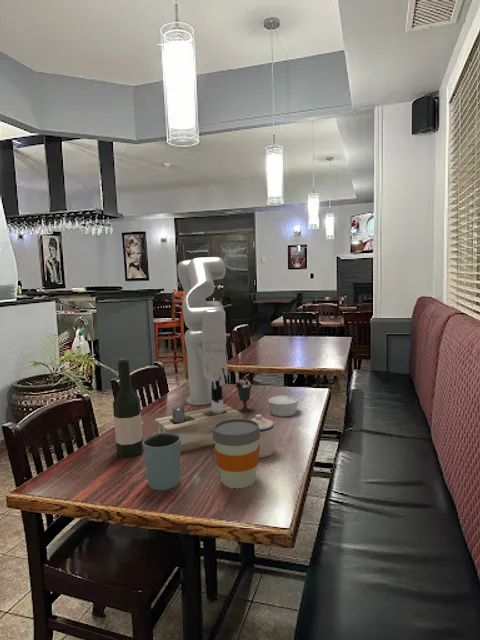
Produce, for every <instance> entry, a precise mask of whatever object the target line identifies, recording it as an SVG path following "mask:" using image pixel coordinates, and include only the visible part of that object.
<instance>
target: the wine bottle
mask: <svg viewBox="0 0 480 640" xmlns="http://www.w3.org/2000/svg"><path fill="white" fill-rule="evenodd" d="M117 368H118V371H117V372H118V380H119V381H118V382H119V389H118V392H117V394H116V396H115V398H114V400H113V402H112V413H113V422H114V435H115V446H116V449H115V450H116V455H117V456H118V457H120V458H123V459H129V458H135V457H137V456H139V455H142V454H143V453H144V450H143V444H142V442H143V440H144V439H143V438H144V437H143V425H142V424H143V423H142V412H141V411H142V410H141V398H140V397H139V396H138V394H137V393H136V391H134V389H133V388H132V384H131V371H130V370H131V369H130V360H128V358H126V357H121V358H119V359H118V362H117Z"/></svg>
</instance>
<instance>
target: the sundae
mask: <svg viewBox="0 0 480 640" xmlns="http://www.w3.org/2000/svg"><path fill="white" fill-rule="evenodd" d="M252 387H253V384H251V381H249V378H248V372H245V375H244V376H242V377H241V378H240V379H239V380H238V381H237V382H236V385H235V388H236V389H237V393H238V398H239V400H240V401H241V402H242V404H243V407H242V408H240V409H238V412H240V413H242V414H243V413H250V412H251V411H252V409H251V408H249V407H248V406H247V402H248V401H249V400H250V398H251V391H252V390H251V389H252Z"/></svg>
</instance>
